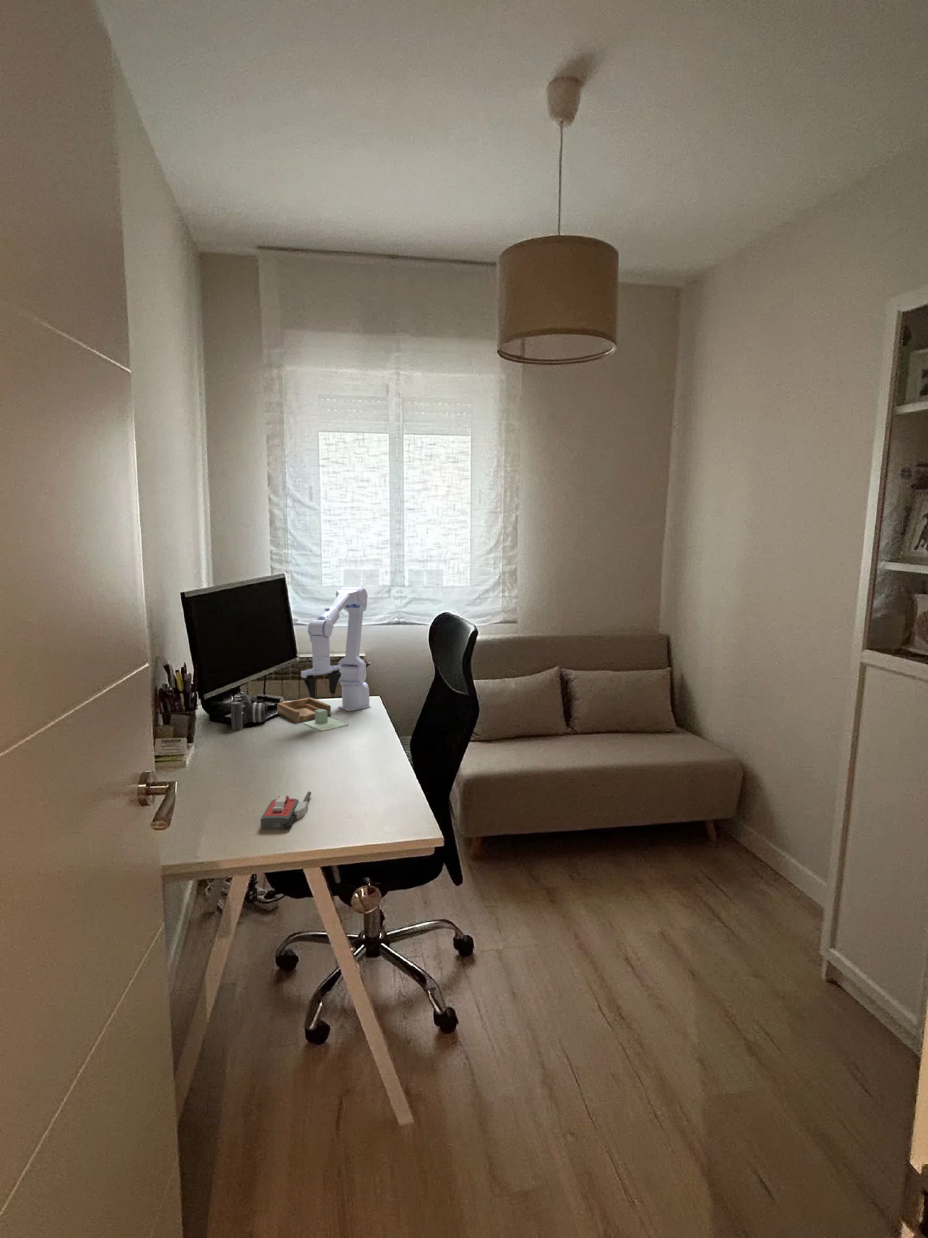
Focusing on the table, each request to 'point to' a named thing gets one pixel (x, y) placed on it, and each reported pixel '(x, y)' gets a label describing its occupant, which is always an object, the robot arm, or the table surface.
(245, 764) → the table surface
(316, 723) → the lid
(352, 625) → the robot arm
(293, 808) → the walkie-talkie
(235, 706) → the camera
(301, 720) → the box
